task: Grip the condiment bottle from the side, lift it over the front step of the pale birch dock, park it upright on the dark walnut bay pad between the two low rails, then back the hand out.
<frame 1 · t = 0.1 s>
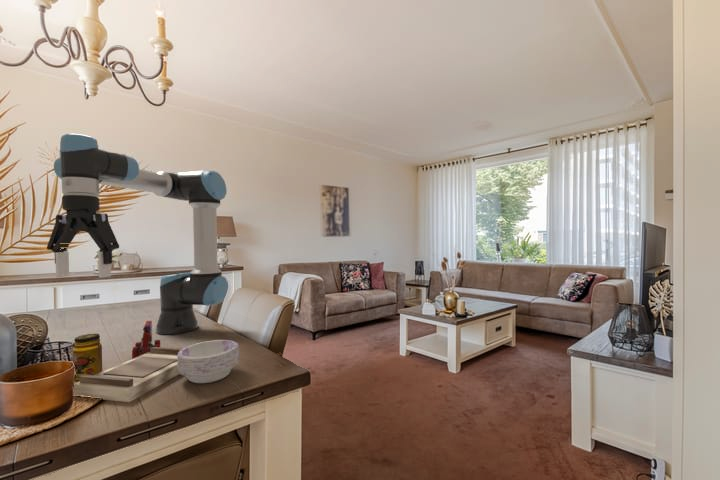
hand: (83, 276, 88), 28 cm above the table, tool pointing down, fingers open, 13 cm apart
toy fire truck: (147, 356, 108), on the table
dock: (142, 378, 91), on the table
paper bowls: (209, 377, 91), on the table
condiment: (89, 380, 91), on the table
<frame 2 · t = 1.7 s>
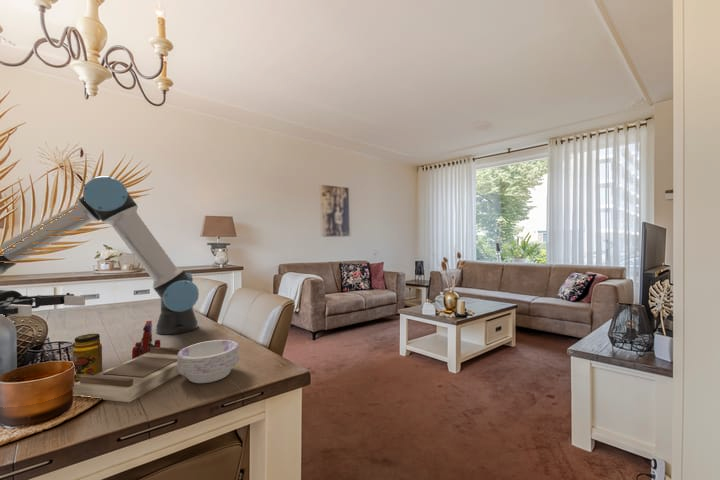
hand: (58, 305, 92), 20 cm above the table, tool horizontal, fingers open, 13 cm apart
nothing on the table moved.
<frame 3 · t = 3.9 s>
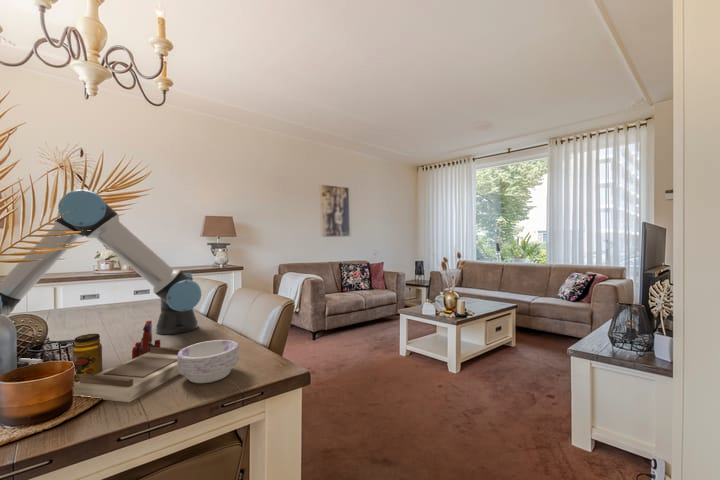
hand: (69, 355, 91), 6 cm above the table, tool horizontal, fingers open, 13 cm apart
nothing on the table moved.
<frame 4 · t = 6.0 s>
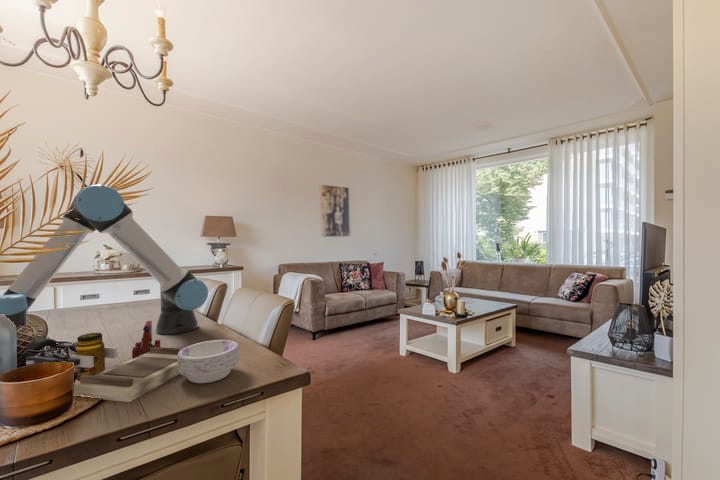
hand: (104, 357, 89), 6 cm above the table, tool horizontal, fingers closed on condiment, 6 cm apart
condiment: (91, 378, 91), on the table, touching gripper
everything else where it was.
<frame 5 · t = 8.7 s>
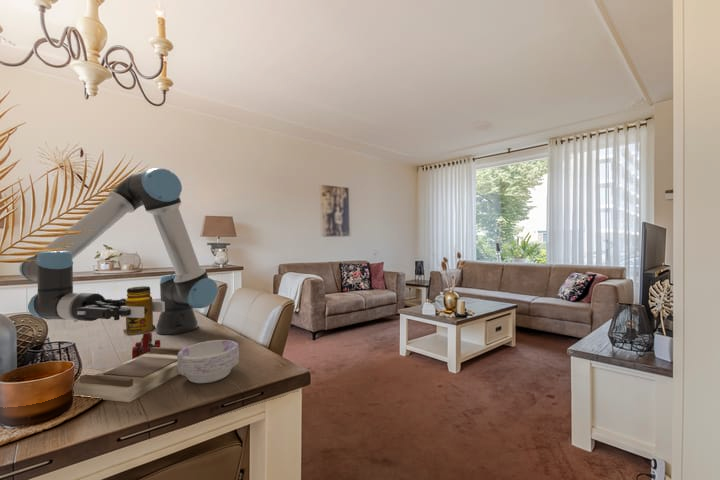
hand: (153, 309, 89), 19 cm above the table, tool horizontal, fingers closed on condiment, 6 cm apart
condiment: (140, 332, 91), point 12 cm above the table, touching gripper
everything else where it was.
when the fingers open (10 cm above the table, at t = 11.1 s): condiment stays where it is, resting on dock.
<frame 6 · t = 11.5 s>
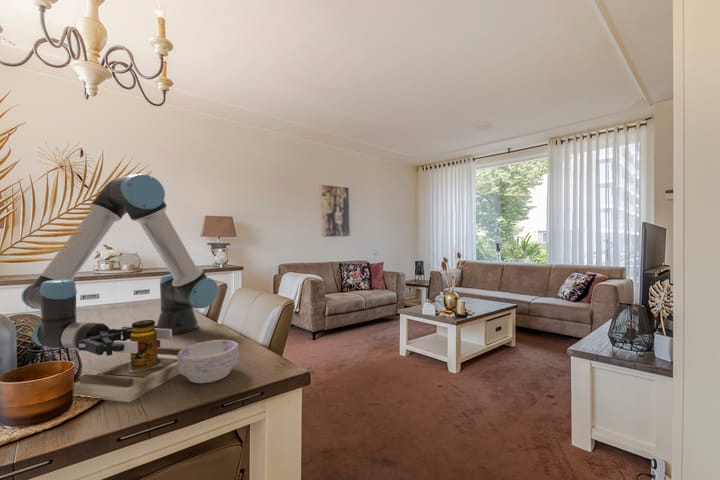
hand: (154, 340, 90), 10 cm above the table, tool horizontal, fingers open, 11 cm apart
condiment: (144, 365, 91), point 3 cm above the table, touching dock
everything else where it was.
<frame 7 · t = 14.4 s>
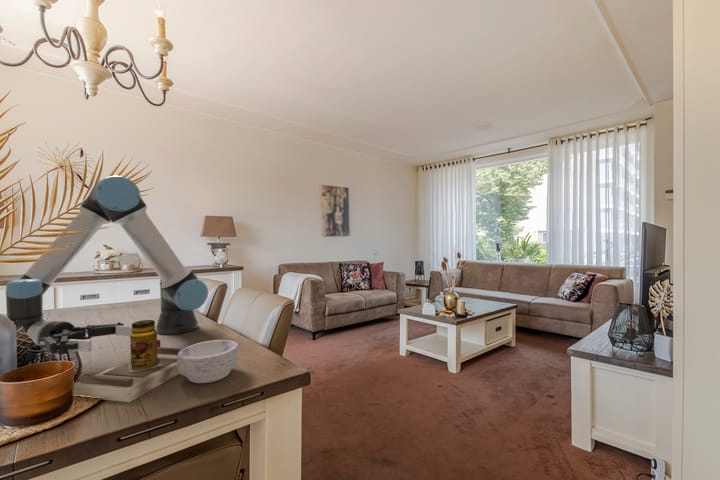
hand: (114, 338, 92), 10 cm above the table, tool horizontal, fingers open, 13 cm apart
nothing on the table moved.
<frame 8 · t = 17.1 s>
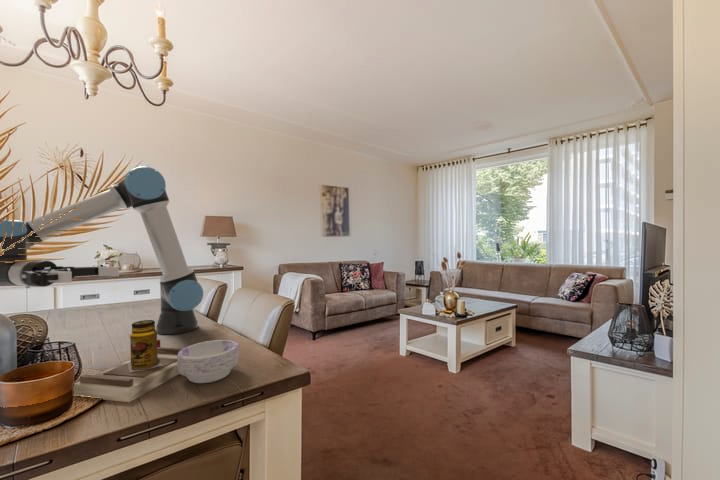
hand: (95, 274, 93), 28 cm above the table, tool horizontal, fingers open, 13 cm apart
nothing on the table moved.
at the end: condiment inside the target area on the dock (0.6 cm from its centre), point 3.1 cm above the dock's base; condiment tilted 0°; the gripper is holding nothing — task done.
